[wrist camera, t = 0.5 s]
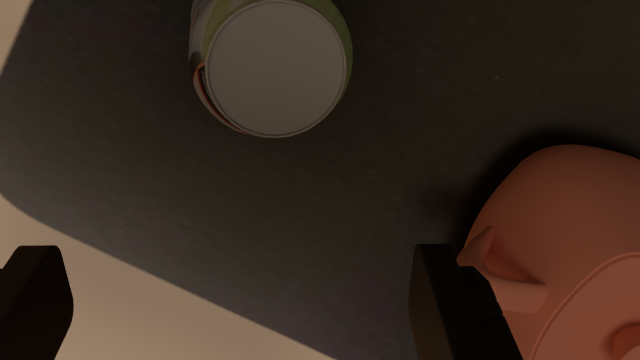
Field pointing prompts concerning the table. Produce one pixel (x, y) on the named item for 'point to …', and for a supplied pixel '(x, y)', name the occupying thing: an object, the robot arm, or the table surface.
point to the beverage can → (269, 62)
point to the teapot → (565, 253)
